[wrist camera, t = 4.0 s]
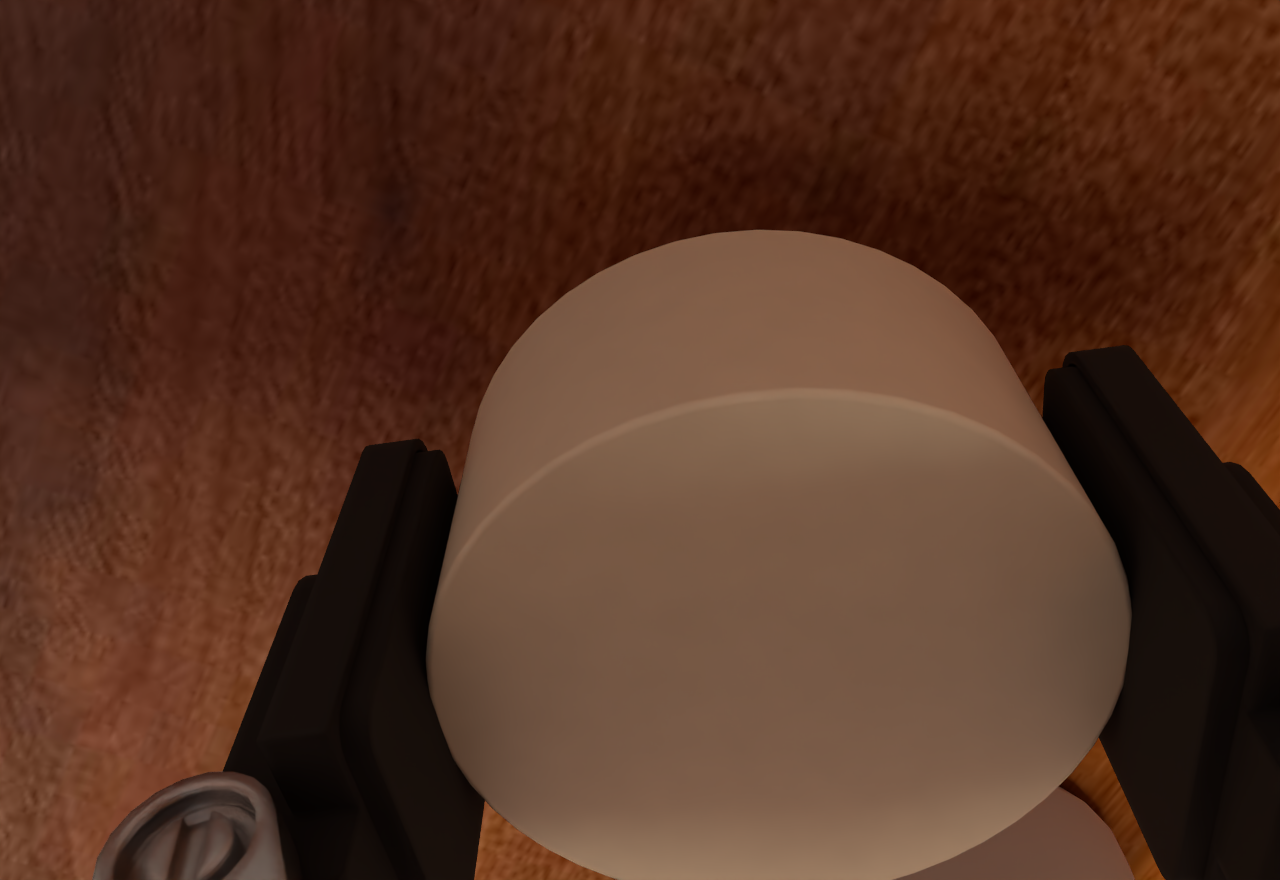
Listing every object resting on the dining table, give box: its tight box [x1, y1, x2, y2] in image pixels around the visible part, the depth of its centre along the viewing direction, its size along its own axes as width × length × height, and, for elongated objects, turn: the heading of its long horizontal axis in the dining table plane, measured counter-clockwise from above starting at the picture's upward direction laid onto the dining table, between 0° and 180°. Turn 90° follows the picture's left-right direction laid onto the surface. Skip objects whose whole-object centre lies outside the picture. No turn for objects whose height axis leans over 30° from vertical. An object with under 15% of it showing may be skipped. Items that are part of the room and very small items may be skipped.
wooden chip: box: [425, 230, 1132, 880], centre depth 11 cm, size 6×6×3 cm
